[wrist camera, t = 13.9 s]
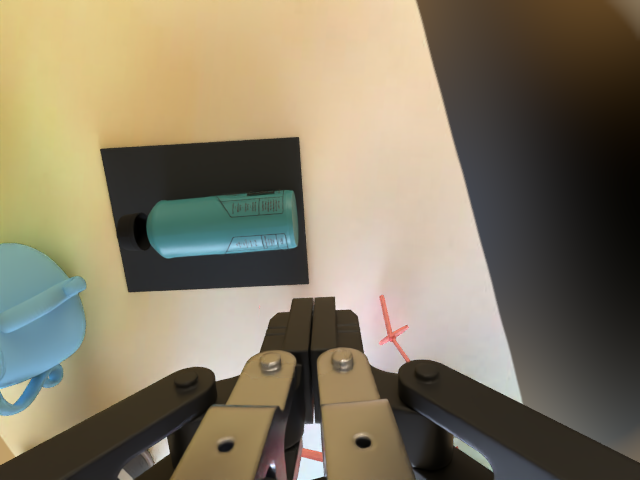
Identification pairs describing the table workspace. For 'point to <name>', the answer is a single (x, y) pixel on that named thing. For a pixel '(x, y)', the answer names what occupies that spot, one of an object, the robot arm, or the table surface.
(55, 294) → the decorative pot
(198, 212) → the beverage bottle
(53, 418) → the table surface
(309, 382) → the robot arm
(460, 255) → the table surface
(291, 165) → the mat
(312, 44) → the table surface
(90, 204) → the table surface
